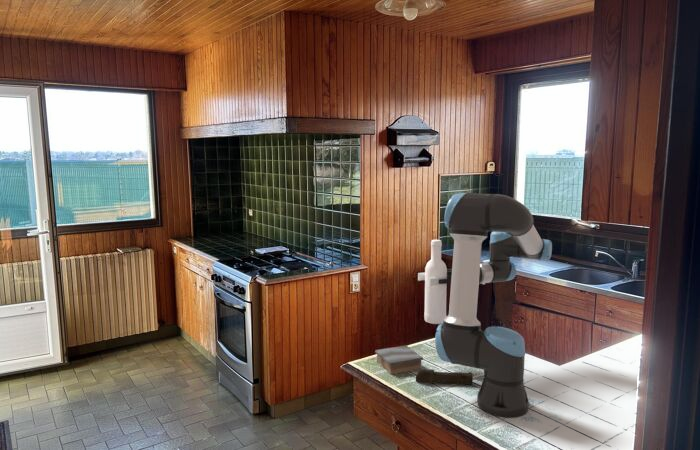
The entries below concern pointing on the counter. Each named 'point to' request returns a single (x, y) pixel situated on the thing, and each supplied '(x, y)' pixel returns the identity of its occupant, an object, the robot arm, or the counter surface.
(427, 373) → the hand tool
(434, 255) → the bottle
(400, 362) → the slate stand
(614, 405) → the counter surface
